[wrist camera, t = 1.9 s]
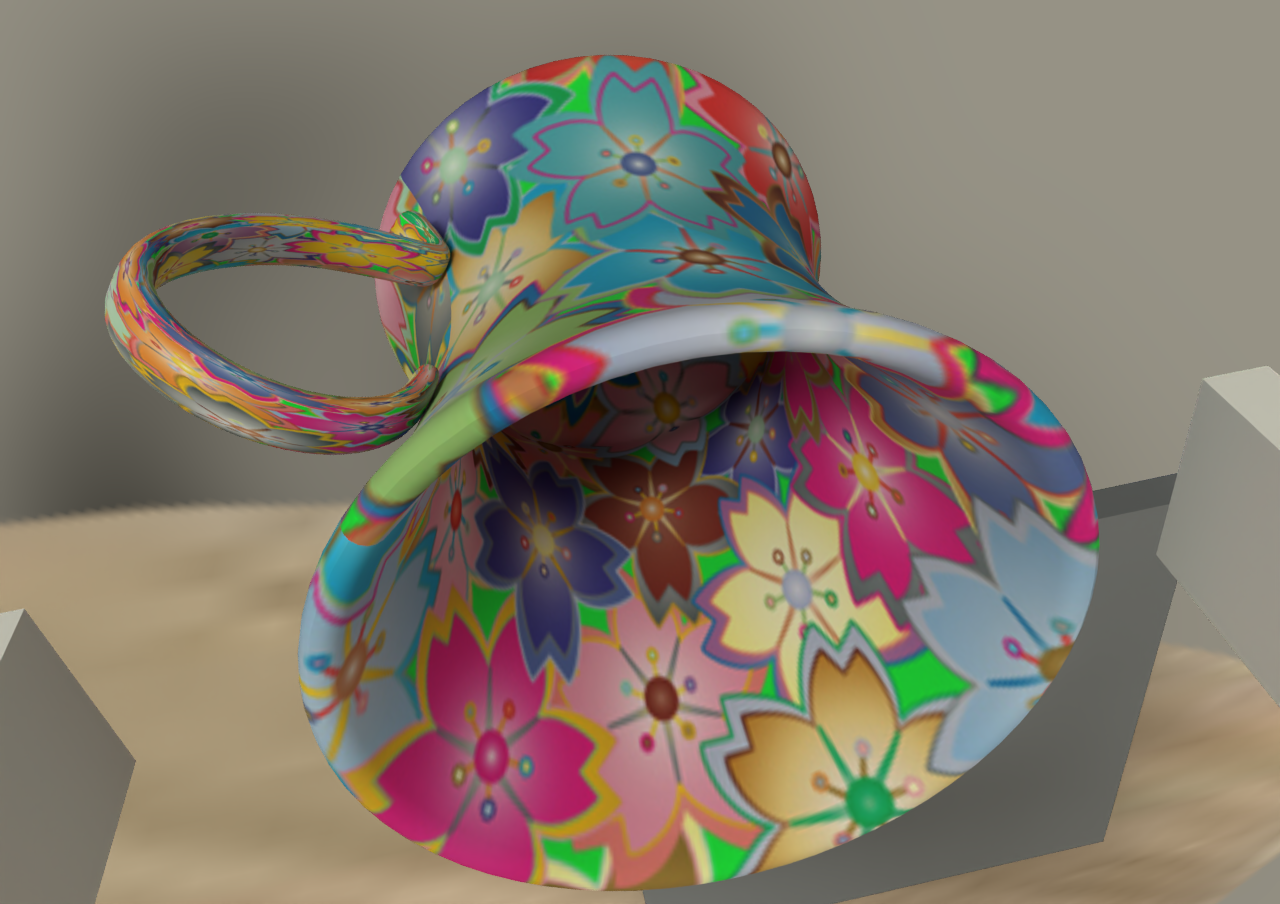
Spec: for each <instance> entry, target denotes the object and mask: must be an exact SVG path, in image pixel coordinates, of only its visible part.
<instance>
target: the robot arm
mask: <svg viewBox="0 0 1280 904" xmlns="http://www.w3.org/2000/svg"><path fill="white" fill-rule="evenodd" d="M1156 555H1157V556H1158V558H1159V559H1160V560H1161V561H1162V563H1163V564H1164V565H1165V566H1166V567H1167V569H1168V570H1169V571H1170V572H1171V574H1172V575H1173V576H1174V577H1175V579H1176V580H1177V581H1178V582H1179V584H1180V585H1181V586H1182V587H1183V589H1184V590H1185V591H1186V592H1187V593H1188V595H1189V596H1190V597H1191V598H1192V600H1193V601H1194V602H1195V603H1196V605H1197V606H1198V607H1199V608H1200V610H1201V611H1202V612H1203V613H1204V614H1205V616H1206V617H1207V618H1208V619H1209V621H1210V622H1211V623H1212V624H1213V625H1214V627H1215V628H1216V629H1217V630H1218V632H1219V633H1220V634H1221V636H1222V637H1223V638H1224V639H1225V641H1226V642H1227V643H1228V644H1229V645H1230V647H1231V648H1232V649H1233V650H1234V652H1235V653H1236V654H1237V655H1238V657H1239V658H1240V659H1241V660H1242V662H1243V663H1244V664H1245V665H1246V667H1247V668H1248V669H1249V670H1250V671H1251V673H1252V674H1253V675H1254V676H1255V678H1256V679H1257V680H1258V681H1259V683H1260V684H1261V685H1262V686H1263V688H1264V689H1265V690H1266V691H1267V693H1268V694H1269V695H1270V696H1271V697H1272V699H1273V700H1274V701H1275V702H1276V704H1277V705H1278V706H1279V707H1280V376H1279V375H1278V374H1277V373H1276V372H1275V371H1273V370H1272V369H1271V368H1270V367H1268V366H1265V367H1260V368H1255V369H1249V370H1244V371H1239V372H1234V373H1229V374H1224V375H1218V376H1214V377H1208V378H1203V379H1202V383H1201V386H1200V390H1199V394H1198V398H1197V401H1196V405H1195V409H1194V413H1193V417H1192V420H1191V424H1190V428H1189V432H1188V436H1187V439H1186V443H1185V447H1184V451H1183V454H1182V458H1181V462H1180V466H1179V470H1178V473H1177V477H1176V481H1175V485H1174V489H1173V492H1172V496H1171V500H1170V504H1169V508H1168V511H1167V515H1166V519H1165V523H1164V527H1163V530H1162V534H1161V538H1160V542H1159V546H1158V549H1157V553H1156ZM135 762H136V760H135V759H134V758H133V756H132V755H131V754H130V752H129V751H128V749H127V748H126V747H125V745H124V744H123V743H122V741H121V740H120V739H119V737H118V736H117V734H116V733H115V732H114V730H113V729H112V728H111V726H110V725H109V724H108V722H107V721H106V719H105V718H104V717H103V715H102V714H101V713H100V711H99V710H98V709H97V707H96V706H95V704H94V703H93V702H92V700H91V699H90V698H89V696H88V695H87V694H86V692H85V691H84V689H83V688H82V687H81V685H80V684H79V683H78V681H77V680H76V679H75V677H74V676H73V674H72V673H71V672H70V670H69V669H68V668H67V666H66V665H65V664H64V662H63V661H62V659H61V658H60V657H59V655H58V654H57V653H56V651H55V650H54V649H53V647H52V646H51V644H50V643H49V642H48V640H47V639H46V638H45V636H44V635H43V634H42V632H41V631H40V629H39V628H38V627H37V625H36V624H35V623H34V621H33V620H32V619H31V617H30V616H29V614H28V613H27V612H26V610H25V609H20V610H15V611H10V612H5V613H0V904H95V900H96V897H97V893H98V890H99V887H100V883H101V880H102V876H103V873H104V869H105V866H106V862H107V859H108V855H109V852H110V849H111V845H112V842H113V838H114V835H115V831H116V828H117V824H118V821H119V817H120V814H121V811H122V807H123V804H124V800H125V797H126V793H127V790H128V786H129V783H130V779H131V776H132V773H133V769H134V766H135Z"/></svg>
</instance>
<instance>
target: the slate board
mask: <svg viewBox="0 0 1280 904" xmlns="http://www.w3.org/2000/svg"><path fill="white" fill-rule="evenodd" d="M1176 477H1177V473H1176V474H1171V475H1167V476H1162V477H1157V478H1153V479H1148V480H1143V481H1139V482H1134V483H1129V484H1124V485H1119V486H1115V487H1110V488H1105V489H1101V490H1096V491H1093V496H1094V501H1095V506H1096V511H1097V516H1098V527H1099V544H1100V546H1099V558H1098V570H1097V576H1096V581H1095V586H1094V590H1093V595H1092V599H1091V602H1090V605H1089V608H1088V611H1087V614H1086V617H1085V620H1084V623H1083V626H1082V628H1081V630H1080V632H1079V634H1078V636H1077V639H1076V641H1075V643H1074V645H1073V647H1072V649H1071V651H1070V653H1069V655H1068V656H1067V658H1066V660H1065V661H1064V663H1063V665H1062V667H1061V668H1060V670H1059V672H1058V673H1057V675H1056V677H1055V678H1054V680H1053V681H1052V682H1051V684H1050V685H1049V687H1048V688H1047V689H1046V691H1045V692H1044V694H1043V695H1042V697H1041V698H1040V699H1039V701H1038V702H1037V703H1036V704H1035V706H1034V707H1033V708H1032V709H1031V710H1030V711H1029V713H1028V714H1027V715H1026V716H1025V717H1024V719H1023V720H1022V721H1021V722H1020V723H1019V724H1018V725H1017V726H1016V727H1015V728H1014V729H1013V730H1012V731H1011V732H1010V734H1009V735H1008V736H1007V737H1006V738H1005V739H1004V740H1003V741H1002V742H1001V743H1000V744H999V745H998V746H996V747H995V748H994V749H993V750H992V751H991V752H990V753H989V754H987V755H986V756H985V757H984V758H983V759H982V760H981V761H980V762H978V763H977V764H976V765H975V766H973V767H972V768H971V769H970V770H968V771H967V772H966V773H964V774H963V775H962V776H961V777H959V778H958V779H957V780H955V781H954V782H953V783H951V784H950V785H948V786H947V787H946V788H944V789H943V790H941V791H940V792H938V793H937V794H935V795H934V796H932V797H931V798H929V799H928V800H926V801H925V802H923V803H921V804H920V805H918V806H916V807H915V808H913V809H911V810H910V811H908V812H906V813H905V814H903V815H901V816H899V817H898V818H896V819H894V820H892V821H890V822H888V823H886V824H884V825H882V826H881V827H879V828H877V829H875V830H873V831H871V832H868V833H866V834H864V835H862V836H860V837H858V838H855V839H853V840H851V841H849V842H847V843H844V844H842V845H839V846H837V847H834V848H832V849H829V850H827V851H824V852H822V853H819V854H816V855H813V856H811V857H808V858H805V859H802V860H799V861H796V862H793V863H790V864H787V865H783V866H780V867H776V868H773V869H769V870H766V871H762V872H758V873H754V874H750V875H745V876H741V877H737V878H732V879H728V880H722V881H716V882H711V883H705V884H699V885H692V886H684V887H675V888H667V889H652V890H643V894H644V899H645V903H646V904H834V903H838V902H843V901H847V900H851V899H856V898H860V897H864V896H869V895H873V894H877V893H882V892H886V891H890V890H895V889H899V888H903V887H908V886H912V885H916V884H921V883H925V882H929V881H934V880H938V879H942V878H947V877H951V876H955V875H960V874H964V873H968V872H973V871H977V870H981V869H986V868H990V867H994V866H999V865H1003V864H1007V863H1012V862H1016V861H1020V860H1025V859H1029V858H1033V857H1038V856H1042V855H1046V854H1051V853H1055V852H1059V851H1064V850H1068V849H1072V848H1077V847H1081V846H1085V845H1090V844H1094V843H1098V842H1103V840H1104V837H1105V833H1106V830H1107V826H1108V823H1109V819H1110V816H1111V812H1112V809H1113V805H1114V802H1115V798H1116V795H1117V791H1118V788H1119V784H1120V781H1121V777H1122V774H1123V770H1124V767H1125V763H1126V760H1127V756H1128V753H1129V749H1130V745H1131V742H1132V738H1133V735H1134V731H1135V728H1136V724H1137V721H1138V717H1139V714H1140V710H1141V707H1142V703H1143V700H1144V696H1145V693H1146V689H1147V686H1148V682H1149V679H1150V675H1151V672H1152V668H1153V665H1154V661H1155V658H1156V654H1157V651H1158V647H1159V644H1160V640H1161V637H1162V633H1163V630H1164V626H1165V622H1166V619H1167V615H1168V611H1169V608H1170V605H1171V601H1172V597H1173V594H1174V591H1175V587H1176V584H1177V580H1176V579H1175V577H1174V576H1173V575H1172V574H1171V572H1170V571H1169V570H1168V569H1167V567H1166V566H1165V565H1164V564H1163V563H1162V561H1161V560H1160V559H1159V558H1158V556H1157V555H1156V553H1157V549H1158V546H1159V542H1160V538H1161V534H1162V530H1163V527H1164V523H1165V519H1166V515H1167V511H1168V508H1169V504H1170V500H1171V496H1172V492H1173V489H1174V485H1175V481H1176Z"/></svg>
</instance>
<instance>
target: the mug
mask: <svg viewBox="0 0 1280 904" xmlns="http://www.w3.org/2000/svg"><path fill="white" fill-rule="evenodd" d="M820 238H821V237H820V229H819V222H818V214H817V210H816V206H815V202H814V197H813V194H812V191H811V188H810V186H809V183H808V180H807V177H806V175H805V173H804V171H803V169H802V167H801V164H800V163H799V160H798V159H797V157H796V155H795V154H794V152H793V150H792V149H791V147H790V146H789V144H788V143H787V141H786V140H785V138H784V137H783V136H782V135H781V134H780V132H779V131H778V130H777V128H776V127H775V126H774V125H773V124H772V123H771V122H770V121H769V120H768V119H767V118H766V117H765V116H764V115H763V114H762V113H761V112H760V111H759V110H758V109H757V108H756V107H755V106H754V105H752V104H751V103H750V102H748V101H747V100H746V99H745V98H743V97H742V96H741V95H739V94H738V93H736V92H735V91H733V90H731V89H730V88H728V87H726V86H725V85H723V84H722V83H720V82H718V81H716V80H714V79H712V78H710V77H707V76H705V75H703V74H701V73H699V72H696V71H693V70H691V69H687V68H685V67H682V66H679V65H676V64H672V63H668V62H663V61H659V60H655V59H651V58H642V57H635V56H627V55H626V56H625V55H596V56H583V57H575V58H569V59H564V60H559V61H553V62H550V63H547V64H543V65H540V66H536V67H533V68H529V69H527V70H524V71H522V72H520V73H517V74H515V75H512V76H510V77H507V78H505V79H503V80H502V81H500V82H498V83H496V84H494V85H492V86H490V87H488V88H486V89H484V90H483V91H482V92H480V93H479V94H477V95H476V96H474V97H472V98H471V99H470V100H468V101H466V102H465V103H464V104H463V105H461V106H460V107H459V108H458V109H456V110H455V111H454V112H453V113H452V114H450V115H449V116H448V117H447V118H446V119H445V120H444V121H443V122H442V123H441V124H440V125H439V126H438V127H437V128H436V129H435V130H434V131H433V132H432V133H431V134H430V135H429V136H428V137H427V138H426V140H425V141H424V142H423V143H422V145H421V146H420V147H419V148H418V150H417V151H416V152H415V153H414V155H413V156H412V158H411V159H410V161H409V162H408V164H407V166H406V167H405V169H404V170H403V172H402V173H401V175H400V177H399V179H398V181H397V183H396V185H395V187H394V189H393V191H392V194H391V196H390V198H389V201H388V204H387V207H386V209H385V212H384V215H383V218H382V222H381V227H380V230H378V229H373V228H369V227H365V226H360V225H356V224H351V223H346V222H341V221H335V220H328V219H322V218H316V217H307V216H298V215H287V214H268V213H266V214H265V213H259V214H258V213H242V214H224V215H216V216H207V217H201V218H196V219H191V220H186V221H183V222H179V223H176V224H173V225H170V226H167V227H164V228H162V229H160V230H158V231H156V232H154V233H151V234H149V235H147V236H146V237H144V238H143V239H142V240H140V241H139V242H137V243H136V244H135V245H134V246H133V247H132V248H131V249H130V250H129V251H128V252H127V254H126V255H125V256H124V257H123V258H122V260H121V261H120V263H119V264H118V266H117V268H116V270H115V272H114V275H113V278H112V280H111V283H110V285H109V288H108V291H107V294H106V298H105V321H106V324H107V328H108V331H109V334H110V337H111V339H112V341H113V343H114V344H115V346H116V348H117V350H118V351H119V353H120V355H121V356H122V357H123V358H124V360H126V362H127V363H128V364H129V365H130V367H131V368H132V369H133V370H134V371H135V372H136V373H137V374H138V375H139V376H140V377H141V378H142V379H144V380H145V381H146V382H147V383H148V384H149V385H150V386H151V387H152V388H154V389H155V390H156V391H158V392H159V393H160V394H162V395H163V396H165V397H166V398H167V399H169V400H170V401H171V402H173V403H174V404H176V405H178V406H179V407H181V408H182V409H184V410H186V411H187V412H189V413H191V414H192V415H194V416H196V417H198V418H200V419H202V420H204V421H206V422H208V423H210V424H212V425H214V426H215V427H217V428H220V429H222V430H225V431H227V432H230V433H232V434H235V435H237V436H239V437H242V438H245V439H249V440H252V441H255V442H257V443H261V444H264V445H268V446H272V447H276V448H281V449H285V450H291V451H296V452H303V453H312V454H324V455H325V454H327V455H331V454H335V455H336V454H352V453H360V452H365V451H369V450H374V449H376V448H380V447H382V446H385V445H387V444H390V443H392V442H394V441H395V440H397V439H399V438H400V437H402V436H403V435H404V434H406V433H407V432H408V431H409V430H410V429H411V428H412V427H413V426H414V425H415V424H416V423H417V422H418V421H419V419H420V421H419V423H418V426H417V428H416V429H415V431H414V433H413V434H412V436H411V437H410V438H409V439H408V440H407V441H406V442H405V443H404V444H402V445H401V446H400V448H398V449H397V450H396V451H395V452H394V453H393V454H392V455H391V457H390V458H389V459H388V460H387V461H386V462H385V463H384V464H383V465H382V466H381V468H380V469H379V470H378V471H377V472H376V473H375V474H374V475H373V476H372V477H371V479H370V480H369V481H368V482H367V483H366V485H365V486H364V487H363V489H362V490H361V492H360V493H359V494H358V496H357V497H356V498H355V500H354V501H353V503H352V504H351V505H350V507H349V508H348V509H347V511H346V512H345V514H344V515H343V517H342V518H341V520H340V522H339V523H338V525H337V527H336V529H335V531H334V532H333V534H332V536H331V538H330V540H329V541H328V543H327V545H326V547H325V548H324V550H323V552H322V555H321V557H320V560H319V562H318V565H317V567H316V570H315V572H314V575H313V577H312V580H311V582H310V586H309V590H308V593H307V597H306V601H305V605H304V609H303V613H302V620H301V629H300V638H299V648H298V664H299V683H300V688H301V693H302V698H303V703H304V708H305V711H306V714H307V717H308V720H309V723H310V725H311V728H312V731H313V734H314V736H315V739H316V741H317V743H318V745H319V747H320V749H321V751H322V753H323V754H324V756H325V758H326V760H327V762H328V764H329V765H330V767H331V768H332V770H333V771H334V772H335V774H336V775H337V776H338V778H339V779H340V781H341V782H342V783H343V785H344V786H345V787H346V788H347V789H348V790H349V791H350V793H351V794H352V795H353V796H354V797H355V798H356V799H357V800H358V801H359V802H360V803H361V804H362V805H363V806H364V807H365V808H366V809H367V810H369V811H370V812H371V813H372V814H373V815H375V816H376V817H377V818H378V819H379V820H381V821H382V822H383V823H384V824H386V825H387V826H389V827H390V828H392V829H393V830H395V831H396V832H398V833H399V834H401V835H402V836H404V837H405V838H407V839H408V840H410V841H412V842H414V843H416V844H418V845H419V846H421V847H423V848H425V849H427V850H429V851H431V852H433V853H435V854H437V855H439V856H442V857H444V858H446V859H449V860H451V861H453V862H456V863H458V864H460V865H463V866H466V867H469V868H472V869H475V870H478V871H481V872H484V873H487V874H491V875H495V876H499V877H503V878H507V879H511V880H515V881H520V882H525V883H531V884H537V885H542V886H549V887H558V888H567V889H577V890H598V891H637V890H652V889H667V888H675V887H684V886H692V885H699V884H705V883H711V882H716V881H722V880H728V879H732V878H737V877H741V876H745V875H750V874H754V873H758V872H762V871H766V870H769V869H773V868H776V867H780V866H783V865H787V864H790V863H793V862H796V861H799V860H802V859H805V858H808V857H811V856H813V855H816V854H819V853H822V852H824V851H827V850H829V849H832V848H834V847H837V846H839V845H842V844H844V843H847V842H849V841H851V840H853V839H855V838H858V837H860V836H862V835H864V834H866V833H868V832H871V831H873V830H875V829H877V828H879V827H881V826H882V825H884V824H886V823H888V822H890V821H892V820H894V819H896V818H898V817H899V816H901V815H903V814H905V813H906V812H908V811H910V810H911V809H913V808H915V807H916V806H918V805H920V804H921V803H923V802H925V801H926V800H928V799H929V798H931V797H932V796H934V795H935V794H937V793H938V792H940V791H941V790H943V789H944V788H946V787H947V786H948V785H950V784H951V783H953V782H954V781H955V780H957V779H958V778H959V777H961V776H962V775H963V774H964V773H966V772H967V771H968V770H970V769H971V768H972V767H973V766H975V765H976V764H977V763H978V762H980V761H981V760H982V759H983V758H984V757H985V756H986V755H987V754H989V753H990V752H991V751H992V750H993V749H994V748H995V747H996V746H998V745H999V744H1000V743H1001V742H1002V741H1003V740H1004V739H1005V738H1006V737H1007V736H1008V735H1009V734H1010V732H1011V731H1012V730H1013V729H1014V728H1015V727H1016V726H1017V725H1018V724H1019V723H1020V722H1021V721H1022V720H1023V719H1024V717H1025V716H1026V715H1027V714H1028V713H1029V711H1030V710H1031V709H1032V708H1033V707H1034V706H1035V704H1036V703H1037V702H1038V701H1039V699H1040V698H1041V697H1042V695H1043V694H1044V692H1045V691H1046V689H1047V688H1048V687H1049V685H1050V684H1051V682H1052V681H1053V680H1054V678H1055V677H1056V675H1057V673H1058V672H1059V670H1060V668H1061V667H1062V665H1063V663H1064V661H1065V660H1066V658H1067V656H1068V655H1069V653H1070V651H1071V649H1072V647H1073V645H1074V643H1075V641H1076V639H1077V636H1078V634H1079V632H1080V630H1081V628H1082V626H1083V623H1084V620H1085V617H1086V614H1087V611H1088V608H1089V605H1090V602H1091V599H1092V595H1093V590H1094V586H1095V581H1096V576H1097V570H1098V558H1099V546H1100V544H1099V527H1098V516H1097V511H1096V506H1095V501H1094V496H1093V491H1092V487H1091V483H1090V480H1089V477H1088V475H1087V472H1086V469H1085V467H1084V464H1083V461H1082V459H1081V457H1080V455H1079V453H1078V451H1077V449H1076V448H1075V446H1074V444H1073V442H1072V440H1071V439H1070V437H1069V435H1068V433H1067V432H1066V430H1065V429H1064V428H1063V427H1062V425H1061V424H1060V423H1059V421H1058V420H1057V419H1056V418H1055V416H1054V415H1053V414H1052V412H1051V411H1050V410H1049V409H1048V407H1047V406H1046V405H1045V404H1044V403H1043V401H1041V400H1040V399H1039V398H1038V397H1037V396H1036V395H1035V394H1034V393H1033V392H1032V391H1031V390H1030V389H1029V388H1028V387H1027V386H1026V385H1025V384H1024V383H1023V382H1022V381H1021V380H1020V379H1018V378H1017V377H1016V376H1014V375H1013V374H1012V373H1010V372H1009V371H1008V370H1006V369H1005V368H1003V367H1002V366H1001V365H999V364H998V363H996V362H995V361H994V360H992V359H991V358H989V357H987V356H985V355H984V354H982V353H980V352H978V351H976V350H975V349H973V348H971V347H969V346H967V345H965V344H964V343H962V342H960V341H958V340H955V339H953V338H951V337H948V336H946V335H943V334H941V333H938V332H936V331H934V330H931V329H928V328H926V327H924V326H921V325H918V324H916V323H913V322H909V321H905V320H902V319H898V318H895V317H891V316H888V315H884V314H880V313H877V312H872V311H866V310H860V309H855V308H850V307H847V306H845V305H843V304H841V303H840V302H839V301H837V300H835V299H834V298H833V297H832V296H831V295H829V294H828V293H827V292H826V291H825V290H824V289H823V288H822V287H821V286H820V285H819V283H818V281H819V274H820V261H821V239H820ZM251 265H288V266H304V267H313V268H323V269H330V270H337V271H342V272H348V273H353V274H358V275H363V276H368V277H373V278H375V286H376V296H377V303H378V308H379V312H380V317H381V321H382V324H383V327H384V330H385V333H386V336H387V339H388V341H389V343H390V346H391V348H392V350H393V352H394V354H395V356H396V359H397V361H398V362H399V364H400V366H401V367H402V369H403V371H404V372H405V374H406V376H407V377H408V379H409V382H408V383H407V384H406V385H405V386H404V387H403V388H402V389H400V390H398V391H396V392H393V393H391V394H387V395H381V396H375V397H341V396H333V395H325V394H320V393H316V392H311V391H306V390H303V389H299V388H296V387H292V386H288V385H286V384H283V383H280V382H277V381H275V380H272V379H269V378H267V377H264V376H262V375H260V374H258V373H255V372H253V371H251V370H249V369H247V368H245V367H243V366H241V365H239V364H237V363H235V362H233V361H232V360H230V359H228V358H226V357H224V356H223V355H221V354H220V353H218V352H217V351H215V350H213V349H212V348H210V347H209V346H207V345H206V344H205V343H203V342H202V341H201V340H199V339H198V338H196V337H195V336H194V335H192V334H191V333H190V332H189V331H188V330H187V329H186V328H184V327H183V326H182V325H181V324H180V323H179V322H178V321H177V320H176V319H175V318H174V317H173V316H172V314H171V313H170V312H169V311H168V310H167V309H166V308H165V306H164V305H163V303H162V301H161V300H160V298H159V297H158V295H157V292H156V289H158V287H161V286H163V285H165V284H166V283H168V282H170V281H172V280H175V279H178V278H180V277H183V276H187V275H191V274H194V273H198V272H203V271H208V270H214V269H219V268H227V267H236V266H251Z"/></svg>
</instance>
